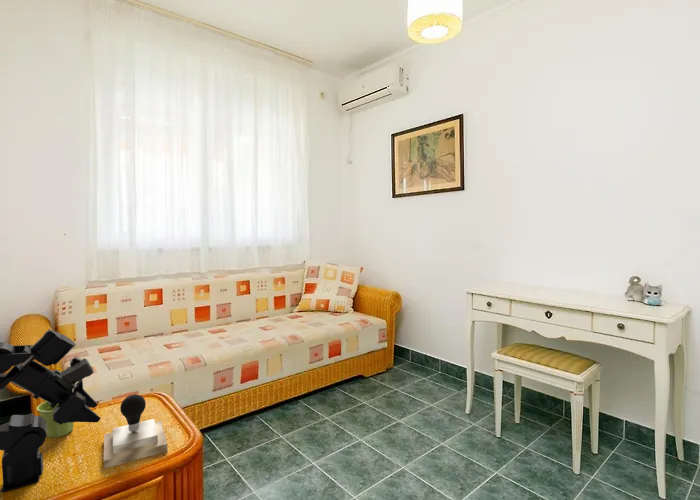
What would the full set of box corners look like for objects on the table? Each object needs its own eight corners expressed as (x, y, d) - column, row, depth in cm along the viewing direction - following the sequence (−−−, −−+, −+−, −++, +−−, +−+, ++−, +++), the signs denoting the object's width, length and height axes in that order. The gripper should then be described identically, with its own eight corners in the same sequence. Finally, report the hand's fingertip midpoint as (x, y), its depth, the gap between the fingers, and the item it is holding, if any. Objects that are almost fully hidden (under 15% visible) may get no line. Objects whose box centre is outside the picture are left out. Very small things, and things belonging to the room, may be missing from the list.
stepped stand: (103, 468, 94) (103, 453, 94) (104, 441, 106) (104, 427, 105) (167, 451, 101) (166, 436, 101) (161, 427, 113) (160, 414, 113)
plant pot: (41, 446, 103) (39, 414, 103) (35, 433, 110) (34, 403, 109) (83, 432, 110) (81, 403, 110) (75, 421, 117) (74, 393, 116)
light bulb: (151, 430, 104) (149, 393, 103) (129, 440, 99) (127, 402, 98) (138, 424, 107) (137, 388, 106) (116, 433, 102) (115, 397, 101)
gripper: (69, 363, 86) (127, 398, 93) (68, 342, 101) (118, 374, 108) (25, 407, 82) (90, 440, 89) (30, 379, 97) (85, 409, 104)
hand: (97, 412), depth 98 cm, fingers open, 9 cm apart
